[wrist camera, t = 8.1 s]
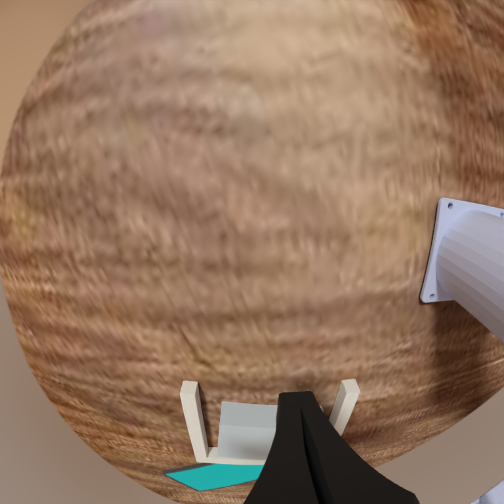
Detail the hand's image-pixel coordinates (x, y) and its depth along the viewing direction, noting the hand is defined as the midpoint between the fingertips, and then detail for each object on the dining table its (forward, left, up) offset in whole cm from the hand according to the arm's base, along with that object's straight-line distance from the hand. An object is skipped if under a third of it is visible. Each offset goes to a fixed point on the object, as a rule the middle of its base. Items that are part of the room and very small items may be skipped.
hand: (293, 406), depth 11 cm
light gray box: (0, +13, -9) cm, 16 cm away
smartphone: (+5, +25, -9) cm, 27 cm away
